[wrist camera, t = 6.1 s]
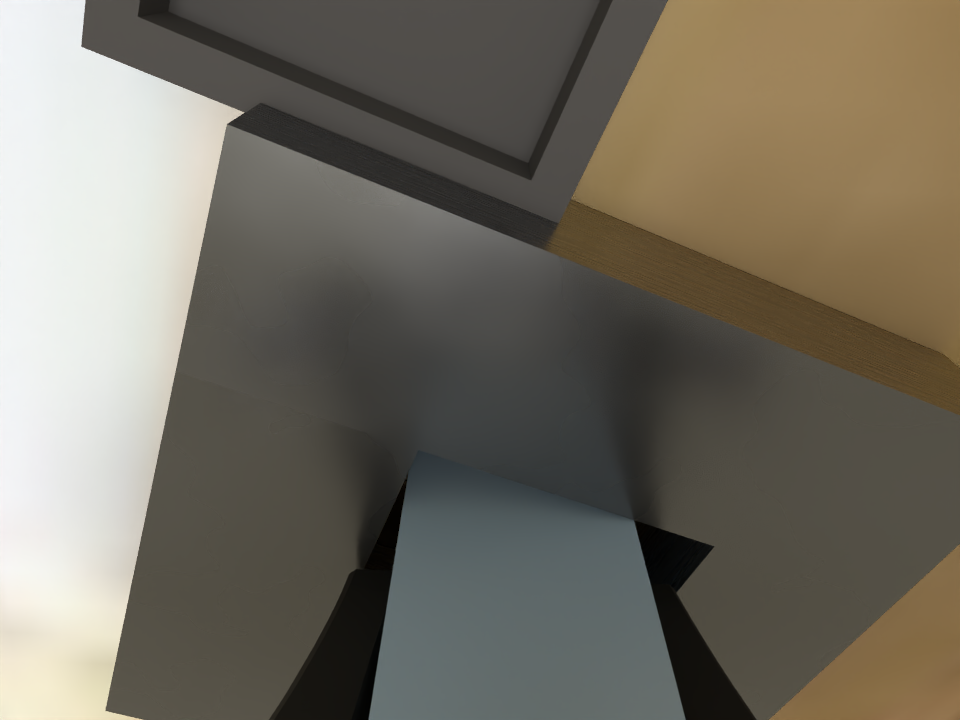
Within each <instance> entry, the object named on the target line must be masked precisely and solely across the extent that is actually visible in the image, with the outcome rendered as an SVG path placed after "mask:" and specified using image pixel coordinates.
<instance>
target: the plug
mask: <svg viewBox="0 0 960 720" xmlns="http://www.w3.org/2000/svg"><path fill="white" fill-rule="evenodd" d="M369 720H686V719H685V715H684V711H683V707H682V704H681V700H680V696H679V692H678V688H677V684H676V681H675V677H674V673H673V669H672V665H671V661H670V657H669V654H668V650H667V646H666V642H665V638H664V634H663V630H662V627H661V623H660V619H659V615H658V611H657V607H656V603H655V600H654V596H653V592H652V588H651V584H650V580H649V576H648V573H647V569H646V565H645V561H644V557H643V553H642V550H641V546H640V542H639V538H638V534H637V530H636V526H635V523H634V520H632V519H629V518H626V517H623V516H619V515H616V514H613V513H610V512H607V511H604V510H601V509H598V508H595V507H592V506H589V505H586V504H583V503H580V502H576V501H573V500H570V499H567V498H564V497H561V496H558V495H555V494H552V493H549V492H546V491H543V490H540V489H536V488H533V487H530V486H527V485H524V484H521V483H518V482H515V481H512V480H509V479H506V478H503V477H500V476H496V475H493V474H490V473H487V472H484V471H481V470H478V469H475V468H472V467H469V466H466V465H463V464H460V463H457V462H453V461H450V460H447V459H444V458H441V457H438V456H435V455H432V454H429V453H426V452H423V451H420V450H418V452H417V454H416V457H415V459H414V461H413V463H412V465H411V468H410V470H409V472H408V478H407V485H406V491H405V497H404V503H403V509H402V516H401V522H400V528H399V534H398V540H397V547H396V553H395V559H394V565H393V571H392V578H391V584H390V590H389V596H388V602H387V609H386V615H385V621H384V627H383V634H382V640H381V646H380V652H379V658H378V665H377V671H376V677H375V683H374V689H373V696H372V702H371V708H370V714H369Z"/></svg>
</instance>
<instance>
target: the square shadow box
mask: <svg viewBox="0 0 960 720" xmlns="http://www.w3.org/2000/svg"><path fill="white" fill-rule="evenodd" d="M667 1H668V0H86V3H85V13H84V24H83V35H82V45H81V47H84V48H86V49H89V50H91V51H94V52H96V53H99V54H101V55H104V56H106V57H108V58H111V59H113V60H116V61H118V62H121V63H123V64H126V65H128V66H131V67H133V68H136V69H138V70H141V71H143V72H146V73H148V74H151V75H153V76H156V77H158V78H161V79H163V80H166V81H168V82H171V83H173V84H176V85H178V86H181V87H183V88H185V89H188V90H190V91H193V92H195V93H198V94H200V95H203V96H205V97H208V98H210V99H213V100H215V101H218V102H220V103H223V104H225V105H228V106H230V107H233V108H235V109H238V110H240V111H243V112H247V111H249V110H250V109H252V108H253V107H255V106H256V105H258V104H260V103H264V104H266V105H269V106H271V107H274V108H276V109H278V110H281V111H283V112H286V113H288V114H291V115H293V116H296V117H298V118H301V119H303V120H305V121H308V122H310V123H313V124H315V125H318V126H320V127H323V128H325V129H328V130H330V131H332V132H335V133H337V134H340V135H342V136H345V137H347V138H350V139H352V140H355V141H357V142H360V143H362V144H364V145H367V146H369V147H372V148H374V149H377V150H379V151H382V152H384V153H387V154H389V155H391V156H394V157H396V158H399V159H401V160H404V161H406V162H409V163H411V164H414V165H416V166H418V167H421V168H423V169H426V170H428V171H431V172H433V173H436V174H438V175H441V176H443V177H445V178H448V179H450V180H453V181H455V182H458V183H460V184H463V185H465V186H468V187H470V188H472V189H475V190H477V191H480V192H482V193H485V194H487V195H490V196H492V197H495V198H497V199H500V200H502V201H504V202H507V203H509V204H512V205H514V206H517V207H519V208H522V209H524V210H527V211H529V212H531V213H534V214H536V215H539V216H541V217H544V218H546V219H549V220H551V221H554V222H556V223H558V224H559V222H560V220H561V218H562V216H563V214H564V212H565V210H566V208H567V206H568V204H569V202H570V200H571V197H572V195H573V193H574V191H575V189H576V187H577V185H578V183H579V181H580V179H581V177H582V175H583V173H584V171H585V169H586V167H587V165H588V163H589V161H590V159H591V157H592V155H593V152H594V150H595V148H596V146H597V144H598V142H599V140H600V138H601V136H602V134H603V132H604V130H605V128H606V126H607V124H608V122H609V120H610V118H611V116H612V114H613V112H614V109H615V107H616V105H617V103H618V101H619V99H620V97H621V95H622V93H623V91H624V89H625V87H626V85H627V83H628V81H629V79H630V77H631V75H632V73H633V71H634V69H635V66H636V64H637V62H638V60H639V58H640V56H641V54H642V52H643V50H644V48H645V46H646V44H647V42H648V40H649V38H650V36H651V34H652V32H653V30H654V28H655V26H656V24H657V21H658V19H659V17H660V15H661V13H662V11H663V9H664V7H665V5H666V3H667Z"/></svg>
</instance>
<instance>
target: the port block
mask: <svg viewBox="0 0 960 720" xmlns="http://www.w3.org/2000/svg"><path fill="white" fill-rule="evenodd" d="M418 450H420V451H423V452H426V453H429V454H432V455H435V456H438V457H441V458H444V459H447V460H450V461H453V462H457V463H460V464H463V465H466V466H469V467H472V468H475V469H478V470H481V471H484V472H487V473H490V474H493V475H496V476H500V477H503V478H506V479H509V480H512V481H515V482H518V483H521V484H524V485H527V486H530V487H533V488H536V489H540V490H543V491H546V492H549V493H552V494H555V495H558V496H561V497H564V498H567V499H570V500H573V501H576V502H580V503H583V504H586V505H589V506H592V507H595V508H598V509H601V510H604V511H607V512H610V513H613V514H616V515H619V516H623V517H626V518H629V519H632V520H634V523H635V526H636V530H637V534H638V538H639V542H640V546H641V550H642V553H643V557H644V561H645V565H646V569H647V573H648V576H649V580H650V583H655V584H670V585H671V586H672V587H673V589H674V590H675V591H676V593H677V595H678V597H679V598H680V600H681V602H682V604H683V605H684V607H685V609H686V610H687V612H688V614H689V615H690V617H691V619H692V620H693V622H694V624H695V625H696V627H697V629H698V630H699V632H700V634H701V635H702V637H703V639H704V640H705V642H706V643H707V645H708V647H709V648H710V650H711V651H712V653H713V655H714V656H715V658H716V659H717V661H718V663H719V664H720V666H721V667H722V669H723V670H724V672H725V673H726V675H727V676H728V678H729V680H730V681H731V683H732V684H733V686H734V687H735V689H736V690H737V691H738V693H739V694H740V696H741V697H742V699H743V700H744V702H745V703H746V705H747V706H748V708H749V709H750V711H751V712H752V713H753V715H754V716H755V718H756V719H757V720H769V719H770V718H771V717H772V716H773V715H774V714H775V713H776V712H778V711H779V710H780V709H781V708H782V707H783V706H784V705H785V704H786V703H787V702H788V701H790V700H791V699H792V698H793V697H794V696H795V695H796V694H797V693H798V692H799V691H800V690H801V689H803V688H804V687H805V686H806V685H807V684H808V683H809V682H810V681H811V680H812V679H813V678H814V677H816V676H817V675H818V674H819V673H820V672H821V671H822V670H823V669H824V668H825V667H826V666H828V665H829V664H830V663H831V662H832V661H833V660H834V659H835V658H836V657H837V656H838V655H839V654H841V653H842V652H843V651H844V650H845V649H846V648H847V647H848V646H849V645H850V644H851V643H853V642H854V641H855V640H856V639H857V638H858V637H859V636H860V635H861V634H862V633H863V632H864V631H866V630H867V629H868V628H869V627H870V626H871V625H872V624H873V623H874V622H875V621H876V620H878V619H879V618H880V617H881V616H882V615H883V614H884V613H885V612H886V611H887V610H888V609H889V608H891V607H892V606H893V605H894V604H895V603H896V602H897V601H898V600H899V599H900V598H901V597H903V596H904V595H905V594H906V593H907V592H908V591H909V590H910V589H911V588H912V587H913V586H914V585H916V584H917V583H918V582H919V581H920V580H921V579H922V578H923V577H924V576H925V575H926V574H927V573H929V572H930V571H931V570H932V569H933V568H934V567H935V566H936V565H937V564H938V563H939V562H941V561H942V560H943V559H944V558H945V557H946V556H947V555H948V554H949V553H950V552H951V551H952V550H954V549H955V548H956V547H957V546H958V545H959V544H960V368H959V367H957V366H956V365H955V364H954V363H953V362H952V361H951V360H949V359H948V358H947V357H946V356H945V355H943V354H940V353H938V352H936V351H933V350H931V349H928V348H926V347H924V346H921V345H919V344H916V343H914V342H911V341H909V340H907V339H904V338H902V337H899V336H897V335H895V334H892V333H890V332H887V331H885V330H883V329H880V328H878V327H875V326H873V325H871V324H868V323H866V322H863V321H861V320H859V319H856V318H854V317H851V316H849V315H847V314H844V313H842V312H839V311H837V310H835V309H832V308H830V307H827V306H825V305H823V304H820V303H818V302H815V301H813V300H810V299H808V298H806V297H803V296H801V295H798V294H796V293H794V292H791V291H789V290H786V289H784V288H782V287H779V286H777V285H774V284H772V283H770V282H767V281H765V280H762V279H760V278H758V277H755V276H753V275H750V274H748V273H746V272H743V271H741V270H738V269H736V268H734V267H731V266H729V265H726V264H724V263H722V262H719V261H717V260H714V259H712V258H709V257H707V256H705V255H702V254H700V253H697V252H695V251H693V250H690V249H688V248H685V247H683V246H681V245H678V244H676V243H673V242H671V241H669V240H666V239H664V238H661V237H659V236H657V235H654V234H652V233H649V232H647V231H645V230H642V229H640V228H637V227H635V226H633V225H630V224H628V223H625V222H623V221H621V220H618V219H616V218H613V217H611V216H608V215H606V214H604V213H601V212H599V211H596V210H594V209H592V208H589V207H587V206H584V205H582V204H580V203H577V202H575V201H572V200H570V202H569V204H568V206H567V208H566V210H565V212H564V214H563V216H562V218H561V220H560V222H559V224H558V223H556V222H554V221H551V220H549V219H546V218H544V217H541V216H539V215H536V214H534V213H531V212H529V211H527V210H524V209H522V208H519V207H517V206H514V205H512V204H509V203H507V202H504V201H502V200H500V199H497V198H495V197H492V196H490V195H487V194H485V193H482V192H480V191H477V190H475V189H472V188H470V187H468V186H465V185H463V184H460V183H458V182H455V181H453V180H450V179H448V178H445V177H443V176H441V175H438V174H436V173H433V172H431V171H428V170H426V169H423V168H421V167H418V166H416V165H414V164H411V163H409V162H406V161H404V160H401V159H399V158H396V157H394V156H391V155H389V154H387V153H384V152H382V151H379V150H377V149H374V148H372V147H369V146H367V145H364V144H362V143H360V142H357V141H355V140H352V139H350V138H347V137H345V136H342V135H340V134H337V133H335V132H332V131H330V130H328V129H325V128H323V127H320V126H318V125H315V124H313V123H310V122H308V121H305V120H303V119H301V118H298V117H296V116H293V115H291V114H288V113H286V112H283V111H281V110H278V109H276V108H274V107H271V106H269V105H266V104H264V103H260V104H258V105H256V106H255V107H253V108H252V109H250V110H249V111H247V112H245V113H244V114H242V115H241V116H239V117H238V118H236V119H234V120H233V121H231V122H230V123H228V124H227V127H226V132H225V137H224V141H223V146H222V151H221V156H220V161H219V165H218V170H217V175H216V180H215V185H214V190H213V194H212V199H211V204H210V209H209V214H208V219H207V223H206V228H205V233H204V238H203V243H202V247H201V252H200V257H199V262H198V267H197V272H196V276H195V281H194V286H193V291H192V296H191V301H190V305H189V310H188V315H187V320H186V325H185V329H184V334H183V339H182V344H181V349H180V354H179V358H178V363H177V368H176V373H175V378H174V383H173V387H172V392H171V397H170V402H169V407H168V411H167V416H166V421H165V426H164V431H163V436H162V440H161V445H160V450H159V455H158V460H157V465H156V469H155V474H154V479H153V484H152V489H151V493H150V498H149V503H148V508H147V513H146V518H145V522H144V527H143V532H142V537H141V542H140V547H139V551H138V556H137V561H136V566H135V571H134V575H133V580H132V585H131V590H130V595H129V600H128V604H127V609H126V614H125V619H124V624H123V629H122V633H121V638H120V643H119V648H118V653H117V657H116V662H115V667H114V672H113V677H112V682H111V686H110V691H109V696H108V701H107V706H106V711H108V712H113V713H117V714H122V715H126V716H130V717H135V718H139V719H143V720H269V719H270V717H271V716H272V714H273V713H274V711H275V710H276V708H277V707H278V705H279V704H280V702H281V700H282V699H283V697H284V696H285V694H286V692H287V691H288V689H289V688H290V686H291V684H292V683H293V681H294V679H295V677H296V676H297V674H298V672H299V671H300V669H301V667H302V666H303V664H304V662H305V660H306V659H307V657H308V655H309V654H310V652H311V650H312V649H313V647H314V645H315V643H316V641H317V640H318V638H319V636H320V634H321V632H322V630H323V628H324V627H325V625H326V623H327V621H328V619H329V617H330V615H331V613H332V611H333V609H334V607H335V605H336V603H337V601H338V599H339V596H340V594H341V592H342V590H343V588H344V585H345V583H346V580H347V578H348V575H349V573H351V572H352V571H354V570H355V569H367V570H387V571H393V565H394V559H395V553H396V550H395V549H392V548H388V547H385V546H382V545H378V544H376V541H377V539H378V537H379V535H380V533H381V531H382V528H383V526H384V524H385V522H386V520H387V518H388V515H389V513H390V511H391V509H392V507H393V504H394V502H395V500H396V498H397V496H398V494H399V491H400V489H401V487H402V485H403V483H404V481H405V478H406V476H407V474H408V472H409V470H410V468H411V465H412V463H413V461H414V459H415V457H416V454H417V452H418Z"/></svg>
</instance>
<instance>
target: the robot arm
mask: <svg viewBox="0 0 960 720" xmlns="http://www.w3.org/2000/svg"><path fill="white" fill-rule="evenodd" d="M391 578H392V571H387V570H367V569H355V570H354V571H352V572H351V573H349V575H348V578H347V580H346V583H345V585H344V588H343V590H342V592H341V594H340V596H339V599H338V601H337V603H336V605H335V607H334V609H333V611H332V613H331V615H330V617H329V619H328V621H327V623H326V625H325V627H324V628H323V630H322V632H321V634H320V636H319V638H318V640H317V641H316V643H315V645H314V647H313V649H312V650H311V652H310V654H309V655H308V657H307V659H306V660H305V662H304V664H303V666H302V667H301V669H300V671H299V672H298V674H297V676H296V677H295V679H294V681H293V683H292V684H291V686H290V688H289V689H288V691H287V692H286V694H285V696H284V697H283V699H282V700H281V702H280V704H279V705H278V707H277V708H276V710H275V711H274V713H273V714H272V716H271V717H270V719H269V720H369V714H370V708H371V702H372V696H373V689H374V683H375V677H376V671H377V665H378V658H379V652H380V646H381V640H382V634H383V627H384V621H385V615H386V609H387V602H388V596H389V590H390V584H391ZM650 584H651V588H652V592H653V596H654V600H655V603H656V607H657V611H658V615H659V619H660V623H661V627H662V630H663V634H664V638H665V642H666V646H667V650H668V654H669V657H670V661H671V665H672V669H673V673H674V677H675V681H676V684H677V688H678V692H679V696H680V700H681V704H682V707H683V711H684V715H685V719H686V720H757V719H756V718H755V716H754V715H753V713H752V712H751V711H750V709H749V708H748V706H747V705H746V703H745V702H744V700H743V699H742V697H741V696H740V694H739V693H738V691H737V690H736V689H735V687H734V686H733V684H732V683H731V681H730V680H729V678H728V676H727V675H726V673H725V672H724V670H723V669H722V667H721V666H720V664H719V663H718V661H717V659H716V658H715V656H714V655H713V653H712V651H711V650H710V648H709V647H708V645H707V643H706V642H705V640H704V639H703V637H702V635H701V634H700V632H699V630H698V629H697V627H696V625H695V624H694V622H693V620H692V619H691V617H690V615H689V614H688V612H687V610H686V609H685V607H684V605H683V604H682V602H681V600H680V598H679V597H678V595H677V593H676V591H675V590H674V589H673V587H672V586H671V585H670V584H655V583H650Z"/></svg>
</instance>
